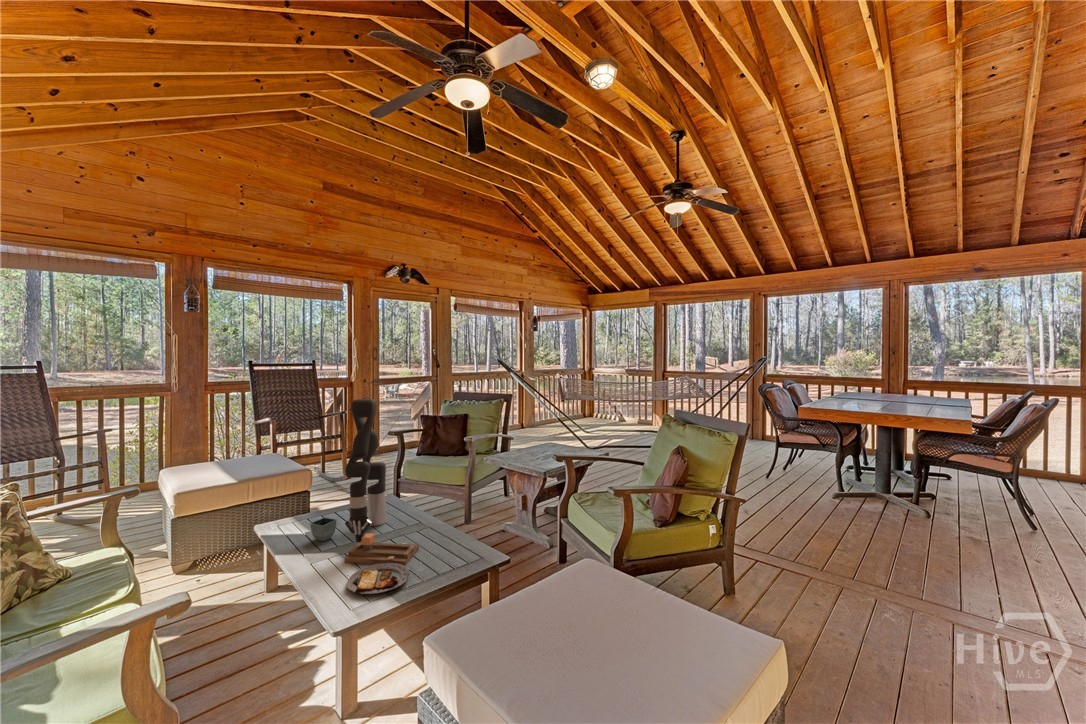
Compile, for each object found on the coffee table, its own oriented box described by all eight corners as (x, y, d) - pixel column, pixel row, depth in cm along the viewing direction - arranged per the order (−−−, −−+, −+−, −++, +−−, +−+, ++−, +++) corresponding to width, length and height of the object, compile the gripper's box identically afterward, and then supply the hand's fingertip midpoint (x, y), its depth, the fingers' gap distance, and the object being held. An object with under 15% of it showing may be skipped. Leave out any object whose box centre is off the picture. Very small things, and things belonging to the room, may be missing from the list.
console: (363, 546, 213) (362, 539, 213) (418, 548, 210) (418, 541, 210) (344, 562, 197) (344, 554, 197) (404, 565, 194) (404, 557, 194)
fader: (366, 547, 207) (366, 533, 207) (374, 548, 206) (374, 533, 206) (361, 552, 202) (361, 537, 202) (370, 552, 202) (369, 537, 202)
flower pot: (309, 541, 219) (309, 523, 219) (324, 534, 227) (324, 517, 227) (322, 544, 216) (322, 526, 216) (337, 536, 224) (337, 519, 224)
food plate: (403, 595, 170) (403, 586, 170) (339, 602, 167) (339, 593, 167) (412, 566, 195) (412, 558, 195) (356, 571, 191) (356, 563, 191)
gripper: (376, 502, 207) (376, 538, 208) (349, 501, 209) (350, 537, 209) (368, 508, 200) (368, 545, 200) (340, 507, 201) (341, 544, 202)
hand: (359, 541), depth 205 cm, fingers closed
